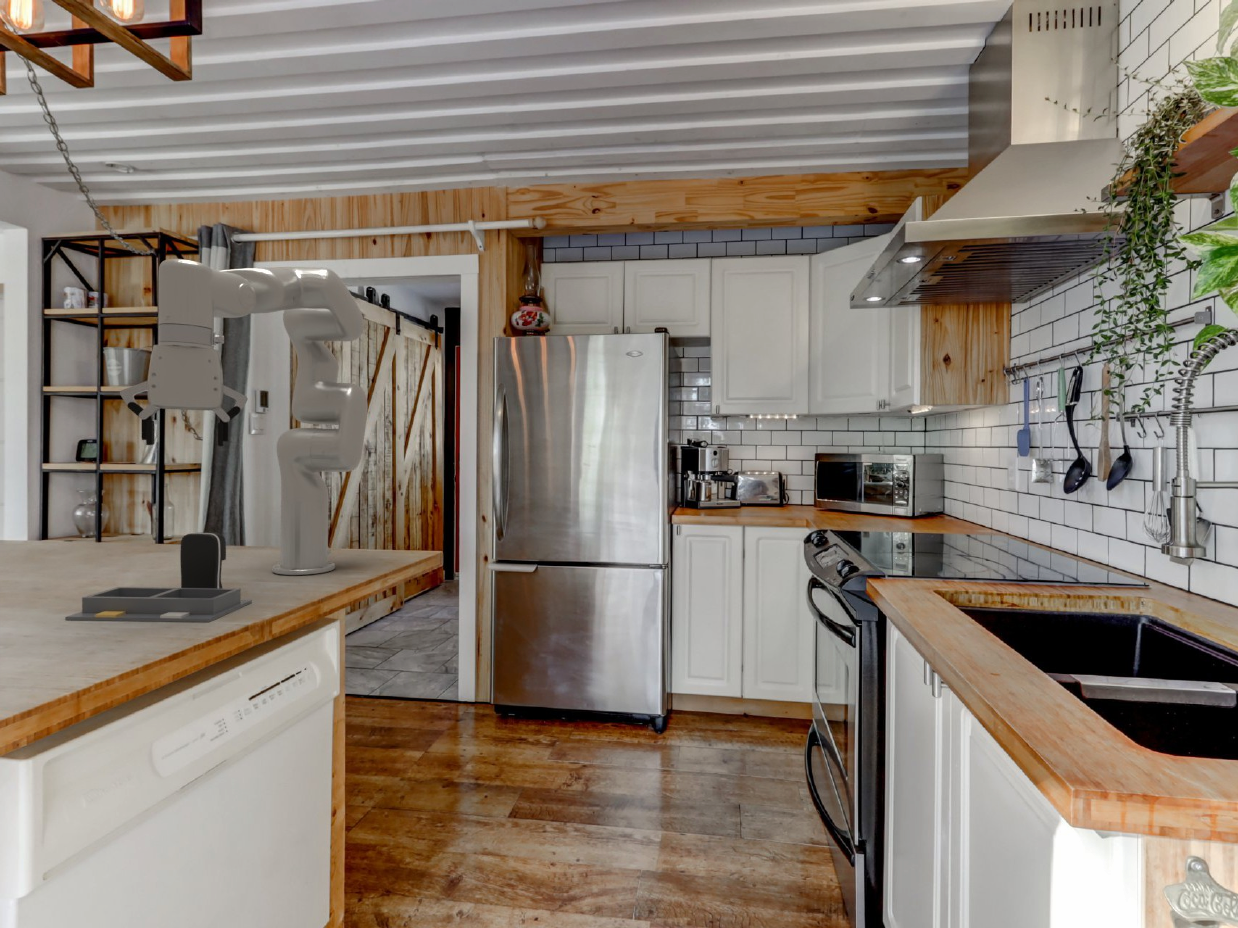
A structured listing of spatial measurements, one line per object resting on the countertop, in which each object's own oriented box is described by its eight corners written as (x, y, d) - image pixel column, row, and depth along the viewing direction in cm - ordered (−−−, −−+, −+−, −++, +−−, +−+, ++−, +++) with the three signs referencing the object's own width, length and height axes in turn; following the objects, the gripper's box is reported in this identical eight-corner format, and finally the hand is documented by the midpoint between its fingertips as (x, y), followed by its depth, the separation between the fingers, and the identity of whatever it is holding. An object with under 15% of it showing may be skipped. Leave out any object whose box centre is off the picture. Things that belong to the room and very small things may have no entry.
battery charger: (228, 592, 126) (229, 531, 125) (216, 596, 122) (216, 534, 121) (192, 591, 126) (192, 530, 125) (178, 595, 122) (179, 533, 122)
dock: (124, 600, 117) (124, 583, 117) (251, 602, 118) (251, 585, 118) (65, 620, 104) (65, 601, 104) (209, 622, 105) (209, 603, 105)
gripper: (248, 347, 115) (247, 446, 115) (124, 337, 106) (124, 444, 107) (247, 341, 108) (247, 447, 109) (115, 330, 100) (115, 444, 100)
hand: (186, 445), depth 108 cm, fingers open, 9 cm apart
